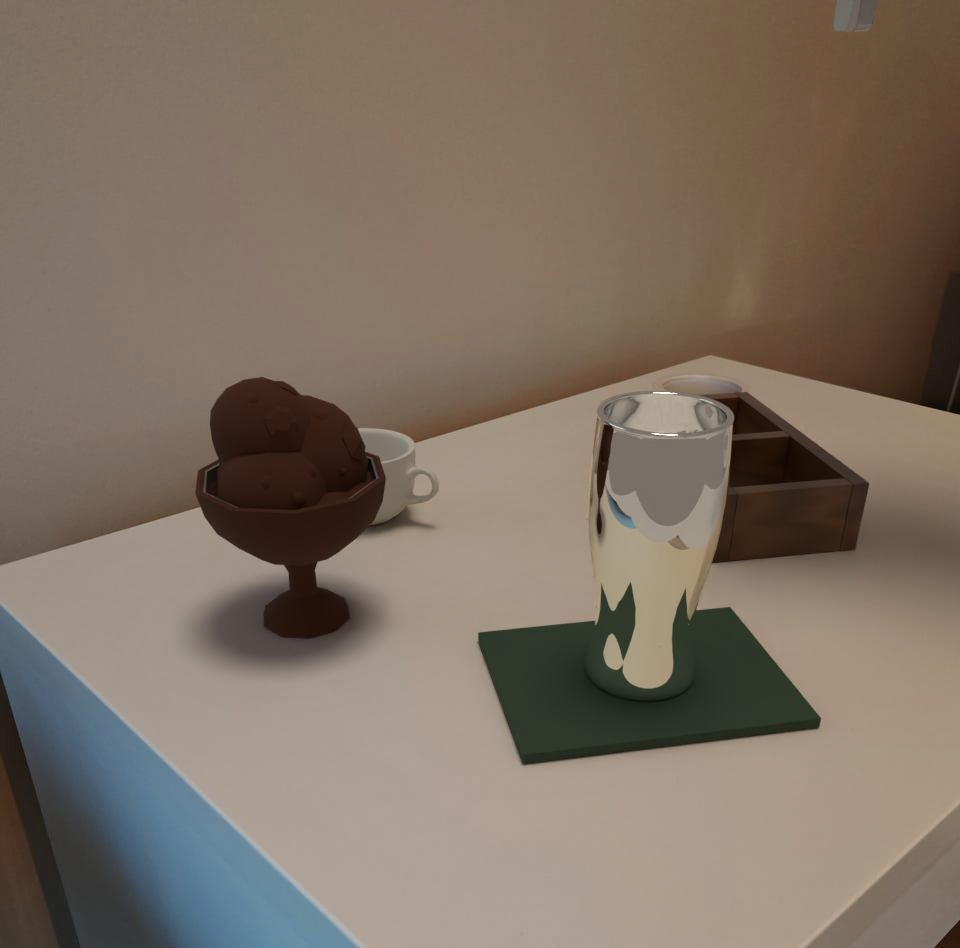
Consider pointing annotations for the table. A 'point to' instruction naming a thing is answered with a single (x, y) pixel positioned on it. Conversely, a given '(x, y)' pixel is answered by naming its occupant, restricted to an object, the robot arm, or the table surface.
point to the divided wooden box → (784, 489)
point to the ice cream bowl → (289, 492)
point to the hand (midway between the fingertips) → (928, 31)
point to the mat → (629, 723)
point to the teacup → (396, 470)
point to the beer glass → (653, 535)
